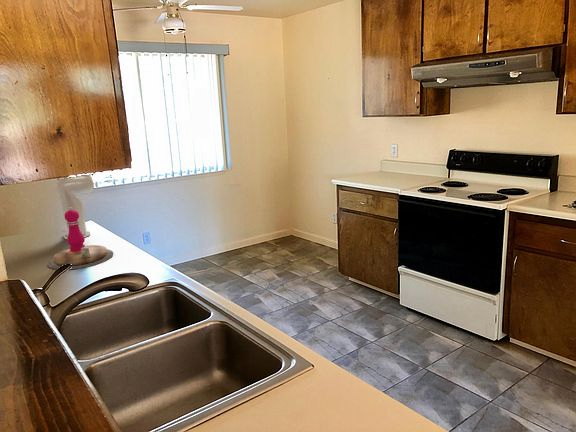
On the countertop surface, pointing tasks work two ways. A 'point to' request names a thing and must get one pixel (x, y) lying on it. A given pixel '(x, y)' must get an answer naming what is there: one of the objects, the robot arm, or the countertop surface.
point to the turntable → (80, 255)
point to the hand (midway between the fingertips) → (81, 175)
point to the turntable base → (107, 257)
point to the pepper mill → (74, 231)
